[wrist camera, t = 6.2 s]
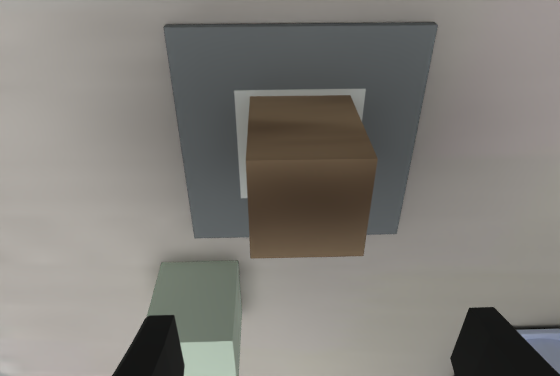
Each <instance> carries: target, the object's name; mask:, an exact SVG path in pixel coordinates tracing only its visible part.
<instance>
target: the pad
mask: <svg viewBox="0 0 560 376" xmlns="http://www.w3.org/2000/svg"><path fill="white" fill-rule="evenodd" d="M437 27H438V25H437V24H436V23H434V22H433V23H318V24H202V25H165V26H164V34H165V41H166V48H167V54H168V61H169V68H170V75H171V81H172V88H173V95H174V102H175V109H176V115H177V122H178V129H179V136H180V143H181V149H182V156H183V163H184V170H185V177H186V183H187V190H188V197H189V204H190V210H191V217H192V224H193V231H194V238H232V237H249V217H248V198H247V178H246V148H247V133H248V118H249V103H250V96H322V95H350V96H351V98H352V100H353V102H354V105H355V107H356V109H357V112H358V114H359V116H360V119H361V121H362V123H363V126H364V128H365V130H366V133H367V135H368V137H369V140H370V142H371V144H372V146H373V149H374V151H375V153H376V156H377V158H378V161H377V167H376V174H375V181H374V187H373V194H372V201H371V208H370V214H369V221H368V228H367V234H366V235H372V234H397V229H398V224H399V219H400V214H401V209H402V204H403V199H404V194H405V189H406V184H407V179H408V173H409V168H410V163H411V158H412V153H413V148H414V143H415V138H416V133H417V128H418V123H419V118H420V113H421V108H422V103H423V98H424V92H425V87H426V82H427V77H428V72H429V67H430V62H431V57H432V52H433V47H434V42H435V37H436V32H437Z"/></svg>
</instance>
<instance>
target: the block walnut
mask: <svg viewBox="0 0 560 376" xmlns="http://www.w3.org/2000/svg"><path fill="white" fill-rule="evenodd" d="M377 161H378V158H377V156H376V153H375V151H374V149H373V146H372V144H371V142H370V140H369V137H368V135H367V133H366V130H365V128H364V126H363V123H362V121H361V119H360V116H359V114H358V112H357V109H356V107H355V105H354V102H353V100H352V98H351V96H350V95H322V96H250V103H249V118H248V133H247V148H246V178H247V198H248V217H249V237H250V257H251V258H294V257H341V256H363V254H364V248H365V241H366V234H367V228H368V221H369V214H370V208H371V201H372V194H373V187H374V181H375V174H376V167H377Z"/></svg>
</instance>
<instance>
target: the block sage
mask: <svg viewBox="0 0 560 376" xmlns="http://www.w3.org/2000/svg"><path fill="white" fill-rule="evenodd" d="M149 315H174V316H175V320H176V325H177V330H178V335H179V340H180V345H181V350H182V355H183V359H184V364H185V368H184V376H239V360H240V340H241V320H242V305H241V293H240V280H239V267H238V261H204V262H162V263H161V267H160V270H159V274H158V278H157V281H156V285H155V289H154V292H153V296H152V299H151V303H150V307H149V310H148V314H147V317H148V316H149Z"/></svg>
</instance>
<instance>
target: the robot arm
mask: <svg viewBox="0 0 560 376" xmlns="http://www.w3.org/2000/svg"><path fill="white" fill-rule="evenodd" d="M450 359H451V362H452V366H453V370H454V373H455V376H560V329H525V330H516V329H515V328H514V327H513V326H512V325H511V324H510V323H509V322H508V321H507V320H506V319H505V318H504V317H503V316H502V315H501V314H500V313H499V312H498V311H497V310H496V309H495V308H494V307H481V308H469V310H468V312H467V315H466V318H465V321H464V323H463V326H462V329H461V331H460V334H459V337H458V339H457V342H456V345H455V348H454V350H453V353H452V356H451V358H450ZM184 368H185V364H184V359H183V355H182V350H181V345H180V340H179V335H178V330H177V325H176V320H175V316H174V315H149V316H148V317H147V318H145V320H144V322H143V324H142V325H141V327H140V329H139V331H138V333H137V335H136V336H135V338H134V340H133V342H132V344H131V345H130V347H129V349H128V350H127V352H126V354H125V355H124V357H123V359H122V360H121V362H120V364H119V365H118V367H117V369H116V370H115V372H114V374H113V375H112V376H184Z"/></svg>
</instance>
